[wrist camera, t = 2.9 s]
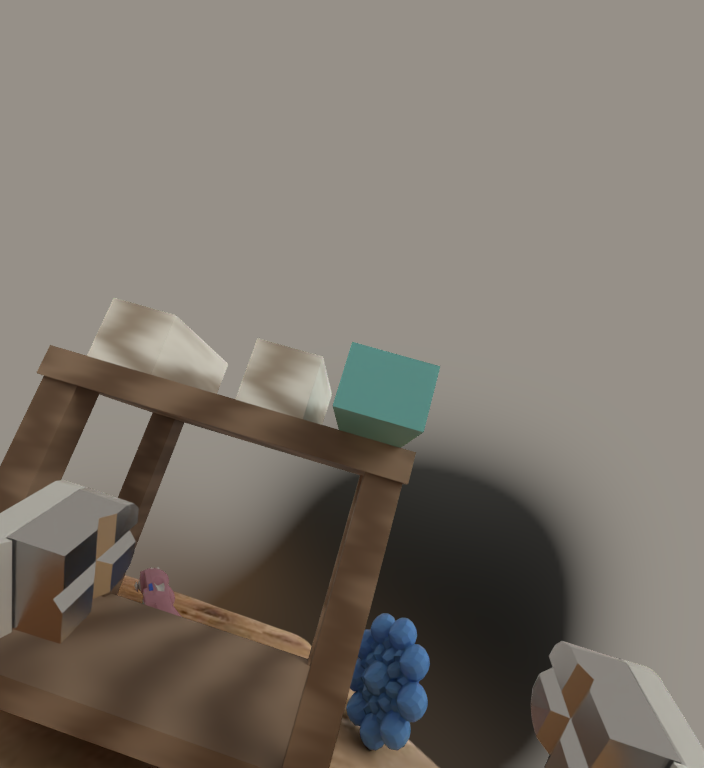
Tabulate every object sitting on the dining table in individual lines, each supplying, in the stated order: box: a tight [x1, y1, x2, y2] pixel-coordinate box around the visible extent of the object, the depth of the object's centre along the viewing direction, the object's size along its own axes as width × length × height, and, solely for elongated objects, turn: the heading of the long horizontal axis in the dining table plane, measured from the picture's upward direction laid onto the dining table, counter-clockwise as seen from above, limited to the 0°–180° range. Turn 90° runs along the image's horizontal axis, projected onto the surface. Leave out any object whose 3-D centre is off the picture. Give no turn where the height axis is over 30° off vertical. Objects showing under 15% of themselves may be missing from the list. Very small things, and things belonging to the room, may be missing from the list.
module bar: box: [333, 342, 440, 448], centre depth 29 cm, size 4×24×3 cm, turn 0°
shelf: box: [0, 298, 416, 768], centre depth 33 cm, size 25×18×31 cm
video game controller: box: [135, 567, 181, 617], centre depth 51 cm, size 10×5×7 cm, turn 32°
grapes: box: [346, 614, 430, 751], centre depth 40 cm, size 12×7×12 cm, turn 29°
